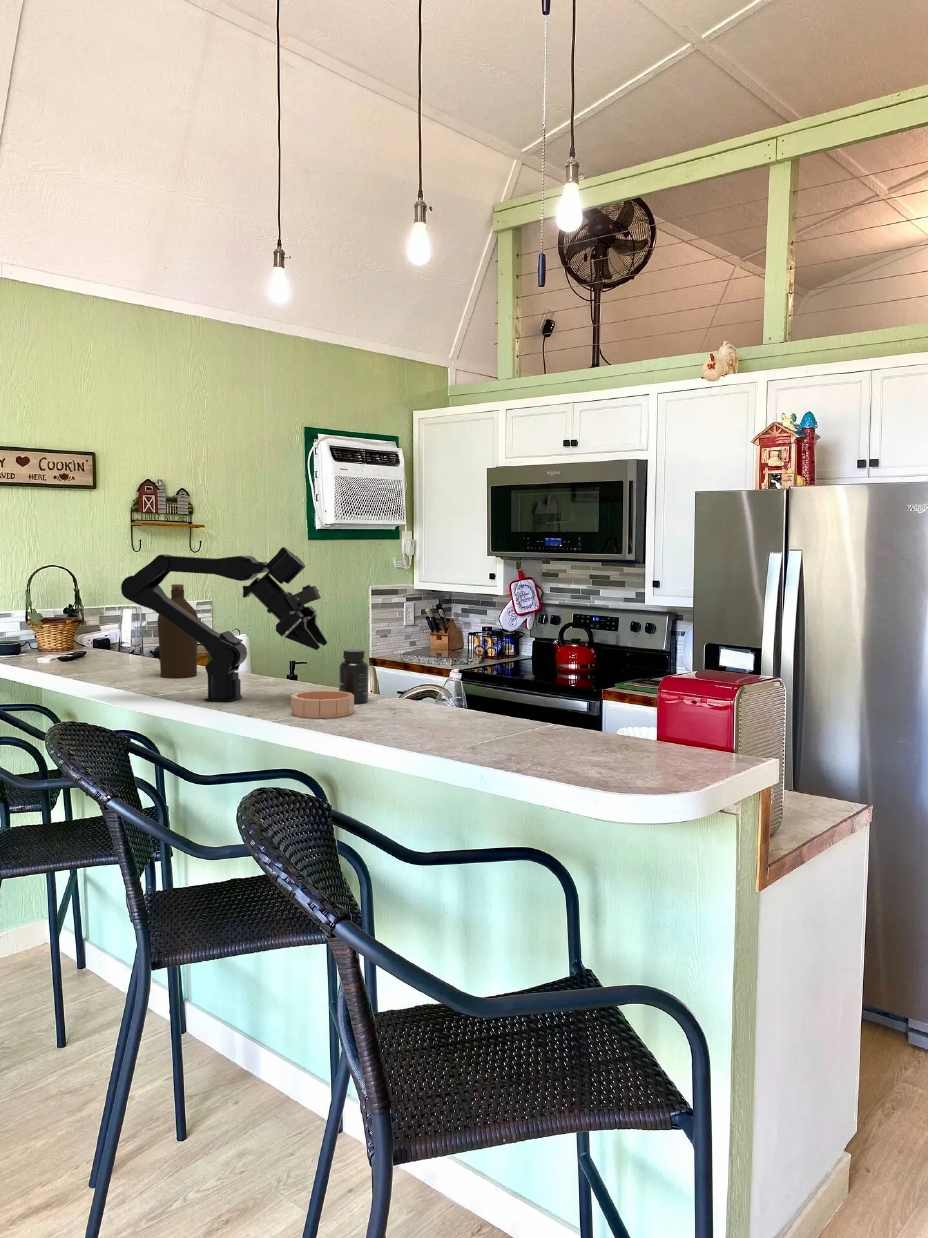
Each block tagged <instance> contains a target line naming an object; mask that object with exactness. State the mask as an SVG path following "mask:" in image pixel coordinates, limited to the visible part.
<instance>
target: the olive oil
mask: <svg viewBox="0 0 928 1238" xmlns="http://www.w3.org/2000/svg"><path fill="white" fill-rule="evenodd" d="M184 588H185V587H184V584H183V583H181V584H179V583H174V584H171V589H170V593H171V594H170V596H171V597H170V599H171V600H172V601H174V602H175V603H177V604H178V605H179V606H181V607H182V608H184V609H185V610H186V611H188V612H189V613H190V614H192V615H193V616H195V617H196V618H197V619H199V617H198V614H197V611H196V609H195V608H194V607H193V606H192V605H191V604H190V603H189V602H188V601H187V600H186V598H185V589H184ZM157 633H158V634H157V635H158V648H159V649H158V650H159V655H158V662H159V665H160V666H159V668H160V669H159V670H160V677H162V678H164V679H166V678H167V679H184V678H194V677H196V676H197V673H198V670H197V669H198V643H199V642H197V641H196V640H194V639H193V638H192V637H190V636H189V635H187V634H186V633H185V632H183V631H182V630H181V629H179V628H178V627H176V626H175V625H174V624H172V623H171V622H169V621H168V620H167V619H165V618H164V617H162V616H161V615H160V614H158V616H157Z"/></svg>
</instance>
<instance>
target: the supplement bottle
mask: <svg viewBox="0 0 928 1238" xmlns="http://www.w3.org/2000/svg"><path fill="white" fill-rule="evenodd" d="M365 657H366V656H365V650H363V649H356V648H355V649H353V648H352V649H351V648H349V649H344V650H343V656H342V658H343V661H342V662H340V663H339V666H338V691H343V692H349V693H352V694H353V695H354V705H360V704H365V703H367V702H368V701H369V679H370V678H369V670H370V668H369V667H370V666H369V664H368V663H367V662H366V661H364V659H365Z"/></svg>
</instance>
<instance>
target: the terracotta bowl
mask: <svg viewBox="0 0 928 1238" xmlns="http://www.w3.org/2000/svg"><path fill="white" fill-rule="evenodd" d="M290 700H291V701H290V704H291V705H290V706H291V707H290V708H291V709H290V710H291V715H293V716H295V717H298V718H304V719H335V718H344V717H348V716H351V715H353V714H354V709H355V704H354V695H353V694H352V693H349V692H343V691H339V690H326V689H325V690H308V691H300V692H295V693H293V694H291V695H290Z"/></svg>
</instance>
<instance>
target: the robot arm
mask: <svg viewBox="0 0 928 1238" xmlns="http://www.w3.org/2000/svg"><path fill="white" fill-rule="evenodd" d="M305 568H306V564H305V563H304V562H303V561H302V560H301V558H299V556H297V555H295V554H294V553H293V552H292V551H290V550H289V549H288V548H287V547H286V546H285V547H281V548H280V549H279V550H278V551H277V553H276V554H275V555H274V556H273V557H272V558H271V559H270V560H269V561H268V562H267V561H258V559H256V557H254V556H253V555H235V556H227V557H220V558H218V557H217V558H216V557H215V558H214V557H213V558H212V557H197V556H182V555H180V556H179V555H171V554H167V553H166V554H165V553H164V554H158V555H157V556H156V557H155V558H154V559H152V561H151V562H149V563H148V564H146V565H145V566H144V567H142V568H141V569H139V570H138V571H137V572H136V573H135V574H133V575H129V576H126V577H125V578H124V580H122V583H120V585H121V586H120V590H121V594H122V596H123V597H124V598H125V599H126V600H128V601H130V602H131V603H134V604H136V605H139V606H141V607H144V608H146V609H149V610H153V612H155V613H157V614H158V615H159V614H160V615H161V616H162V617H164V618H165V619H167V620H168V621H169V622H171V623H172V624H174V625H175V626H176V627H178V628H179V629H181V630H182V631H183V632H185V633H186V634H187V635H189V636H190V637H192V638H193V639H194V640H196V641H197V642H198V643H199V644H200V645H201V646H202V647H203V648H204V649H205V651H206V652H207V653H208V655H209V656H210V658H211V660H210V661H208V663H207V664H206V665H205V667H204V668H205V671H206V673H207V674H206V675H207V697H204V701H208V702H209V701H210V702H211V701H212V702H233V701H236V700H238V699H241V698H243V695H242V693H241V692H242V691H241V685H242V684H241V683H242V682H241V679H240V677H239V676H240V675H239V672H238V671H239V670H240V669H239V668H240V666H241V664H243V663H244V662H245V661H246V659H247V657H248V651H247V647H246V645H245V644H244V643H243V641H244V640H243V639H242V638H238V637H237V636H235V635H234V633H232V632H231V631H230V630H227V631H223V632H221V633H220V632H218V631H216V630H214V629H213V628H211V627H210V626H209V625H207V624H205V622H204V621H201V620H200V619H199V618H198V619H197V618H196V617H195V616H193V615H192V614H190V613H189V612H188V611H186V610H185V609H184V608H182V607H181V606H179V605H178V604H177V603H175V602H174V601H172V600H171V597H169V596H167V594H166V593H165V591H164V590H163V588H162V587H161V586H160V584H161V583H163V582H164V580H165V579H166V577H167V576H168V575H169V574H170V573H171V572H172V573H173V572H174V573H188V574H207V575H215V576H216V575H217V576H220V577H223V578H226V579H230V580H231V579H232V580H234V581H239V582H245V581H250V580H251V583H250V584H249V585H242V598H243V599H244V598H245V599H246V598H249V597H251V595H253V596H254V597H255V598H256V599H257V600H258V601H259V602H260V604H262V605H263V606H264V607H265V608H266V609H267V610H266V612H267V613H268V614H270V615H271V614H272V616H274V617H275V618H276V619H277V620H278V622H277V624H276V625H275V632H276V633H277V634H278V635H279V636H280V637H284V638H285V639H289V640H290V641H293V642H296V643H298V644H301V645H303V646H304V647H305V646H306V647H308V648H310V649H312V650H316V651H317V650H318V651H319V649H320V648H321V646H320V645H322V646H326V645H327V644H328V641H327V639H326V637H325V636H324V634H323V632H322V630H321V629H320V627H319V626H318V624H317V617H318V613H317V611H316V609H315V608H313V606H310V605H308V604H310V603H311V602H314V601H317V600H320V599H321V598H322V597H321V595H320V593H319V592H320V590H319V589H318V588H317V586H316V585H313V586H312V584H307V585H305V586H302V590H301V591H299V592H296V593H295V594H293V593H292V592H287V591H285V590H284V588H283V587H281V585H283V584H284V583H286V584H288V585H289V584H290V583H291V582H292V581H293V580H294V579H295V578H296V577H297V576H298V575H299V574H300V573H301V572H302V571H303V570H304V569H305ZM263 573H264V575H262V577H261V578H260V577H258V575H259V574H263ZM252 580H253V581H252ZM280 584H281V585H280ZM306 604H307V605H306ZM305 605H306V606H305ZM287 632H288V633H287Z"/></svg>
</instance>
